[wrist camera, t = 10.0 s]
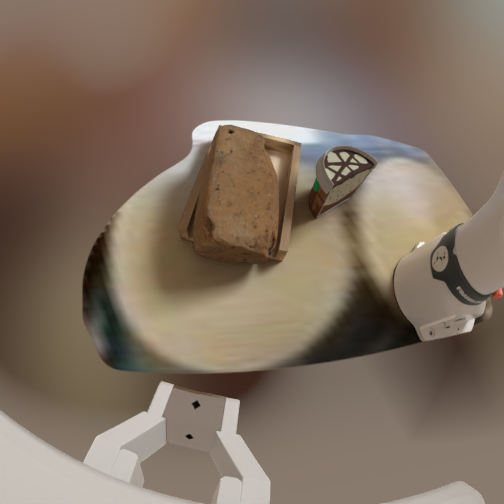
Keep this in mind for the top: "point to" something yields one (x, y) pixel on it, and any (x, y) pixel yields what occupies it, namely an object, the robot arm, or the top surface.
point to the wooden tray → (287, 170)
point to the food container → (339, 177)
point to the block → (237, 200)
